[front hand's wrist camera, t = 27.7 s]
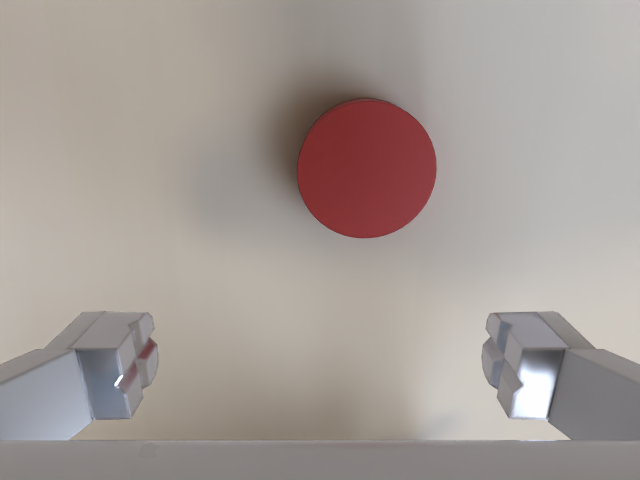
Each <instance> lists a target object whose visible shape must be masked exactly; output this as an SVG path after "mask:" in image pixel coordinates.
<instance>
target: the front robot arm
mask: <svg viewBox="0 0 640 480" xmlns="http://www.w3.org/2000/svg"><path fill="white" fill-rule="evenodd" d="M153 330H154V324H153V319H152V316H151V315H150V314H149V313H148V312H106V311H96V312H82V313H81V314H80V315H79V316H78V317H77V318H76V319H75V320H74V321H73V322H72V323H71V324H70V325H68V326H67V327H66V328H65V329H64V330H63V331H62V332H61V333H60V334H59V335H58V336H57V337H56V338H55V339H54V340H53V341H52V342H51V343H50V344H48V345H47V346H46V347H45V348H44V349H36V350H33V351H31V352H29V353H26V354H24V355H22V356H19V357H17V358H14V359H12V360H10V361H7V362H5V363H3V364H0V480H640V364H637V363H635V362H633V361H630V360H628V359H625V358H623V357H621V356H618V355H616V354H614V353H611V352H609V351H607V350H604V349H596V348H595V347H594V346H593V345H592V344H590V343H589V342H588V341H587V340H586V339H585V338H584V337H583V336H582V335H581V334H580V333H579V332H578V331H577V330H576V329H575V328H574V327H573V326H572V325H571V324H570V323H568V322H567V321H566V320H565V319H564V318H563V317H562V316H561V315H560V314H559V313H557V312H554V311H545V312H504V313H490V314H489V316H488V319H487V323H486V330H487V332H488V333H489V335H490V336H491V337H490V338H489V339H488V340H487V341H486V342H485V343H484V344H483V349H482V367H483V371H484V374H485V377H486V379H487V381H488V383H489V384H490V385H492V386H493V387H495V388H496V389H498V393H497V399H498V401H499V402H500V404H501V406H502V407H503V409H504V411H505V413H506V414H507V416H508V418H509V419H531V420H548V422H549V423H550V424H552V425H553V426H554V427H556V428H557V429H558V430H559V431H561V432H562V433H563V434H565V435H566V436H567V437H569V438H570V439H571V440H69V439H70V438H71V437H73V436H74V435H75V434H77V433H78V432H79V431H81V430H82V429H83V428H85V427H86V426H87V425H88V424H90V423H91V422H92V420H108V419H131V418H132V416H133V415H134V413H135V411H136V409H137V407H138V406H139V404H140V402H141V400H142V399H143V393H142V389H144V388H145V387H147V386H148V385H150V384H151V383H152V381H153V379H154V377H155V375H156V370H157V366H158V348H157V344H156V343H155V342H154V341H153V340H152V339H151V338H150V337H149V336H150V335H151V333H152V332H153Z"/></svg>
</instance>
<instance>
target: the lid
mask: <svg viewBox="0 0 640 480" xmlns="http://www.w3.org/2000/svg"><path fill="white" fill-rule="evenodd" d="M435 178H436V157H435V151H434V148H433V145H432V142H431V140H430V138H429V136H428V134H427V132H426V131H425V129H424V128H423V127H422V125H421V124H420V123H419V122H418V121H417V120H416V119H415V118H414V117H413V116H411V115H410V114H409V113H407V112H406V111H404V110H402V109H401V108H399V107H397V106H395V105H393V104H391V103H389V102H386V101H382V100H378V99H371V98H362V99H354V100H350V101H346V102H343V103H341V104H339V105H336V106H334V107H333V108H331V109H330V110H328V111H327V112H325V113H324V114H323V115H322V116H321V117H320V118H319V119H318V120H317V121H316V122H315V123H314V125H313V126H312V127H311V129H310V130H309V132H308V134H307V136H306V138H305V140H304V143H303V145H302V148H301V151H300V154H299V158H298V165H297V180H298V186H299V190H300V193H301V196H302V198H303V200H304V202H305V204H306V206H307V208H308V209H309V211H310V212H311V213H312V214H313V216H314V217H315V218H316V219H317V220H318V221H319V222H321V223H322V224H323V225H325V226H326V227H327V228H329V229H331V230H333V231H335V232H337V233H339V234H342V235H345V236H349V237H355V238H374V237H380V236H384V235H387V234H390V233H392V232H395V231H397V230H398V229H400V228H402V227H404V226H405V225H406V224H408V223H409V222H410V221H412V220H413V219H414V218H415V217H416V216H417V215H418V214H419V213H420V211H421V210H422V209H423V207H424V206H425V204H426V203H427V201H428V199H429V197H430V195H431V193H432V190H433V187H434V183H435Z"/></svg>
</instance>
